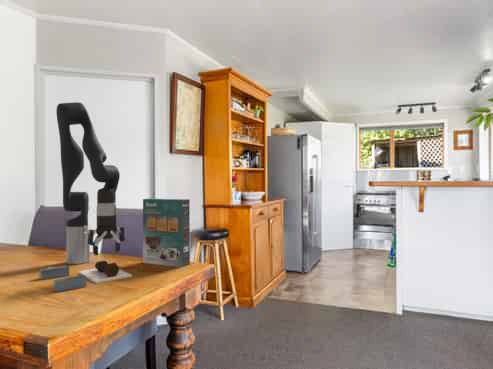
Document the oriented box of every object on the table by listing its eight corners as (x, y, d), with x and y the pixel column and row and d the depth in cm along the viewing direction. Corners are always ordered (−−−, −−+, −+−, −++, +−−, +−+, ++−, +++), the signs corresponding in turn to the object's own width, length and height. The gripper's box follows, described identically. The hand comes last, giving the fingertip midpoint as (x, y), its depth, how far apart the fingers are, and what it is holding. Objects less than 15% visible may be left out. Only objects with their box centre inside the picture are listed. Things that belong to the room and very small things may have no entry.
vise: (62, 271, 151) (62, 263, 151) (86, 286, 129) (86, 276, 129) (36, 275, 145) (36, 266, 145) (55, 292, 122) (55, 282, 122)
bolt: (100, 273, 151) (114, 279, 140) (89, 269, 148) (103, 275, 137) (107, 260, 153) (121, 265, 142) (96, 256, 150) (110, 260, 139)
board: (112, 267, 157) (112, 266, 157) (131, 276, 142) (131, 274, 142) (78, 273, 148) (78, 271, 148) (95, 283, 133) (95, 281, 133)
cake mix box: (189, 264, 164) (189, 199, 164) (182, 267, 159) (181, 199, 159) (151, 260, 173) (151, 198, 173) (143, 262, 168) (143, 199, 168)
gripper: (119, 212, 153) (119, 249, 154) (85, 214, 144) (85, 254, 144) (127, 213, 148) (127, 252, 148) (92, 216, 138) (92, 257, 138)
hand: (106, 253), depth 146 cm, fingers open, 8 cm apart
